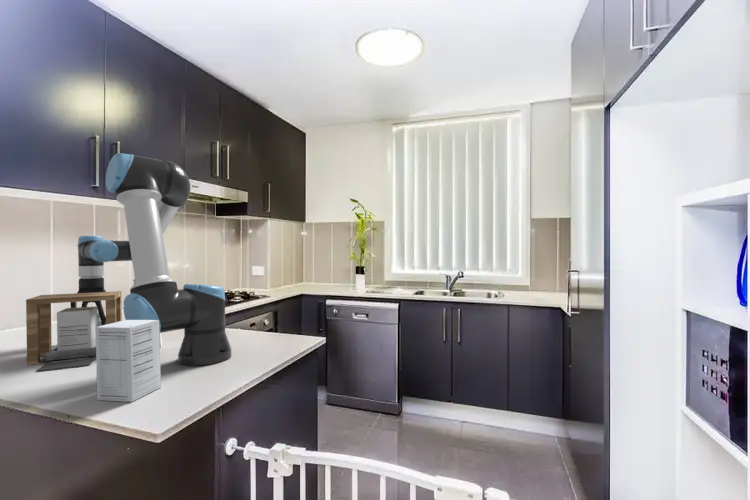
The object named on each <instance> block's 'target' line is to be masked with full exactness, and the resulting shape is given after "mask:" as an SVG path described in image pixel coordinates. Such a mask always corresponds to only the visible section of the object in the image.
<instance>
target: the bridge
mask: <svg viewBox="0 0 750 500" xmlns="http://www.w3.org/2000/svg"><path fill="white" fill-rule="evenodd" d="M100 300H101V301H105V317H106V325H107V324H111V323H115V322H119V321H123V319H122V318H123V317H122V314H123V313H122V310H123V309H122V291H121V290H118V291H117V290H115V291H106V292H94V293H77V292H75V293H74V292H73V293H59V294H58V293H56V294H41V295H37V296H33V297H30V298H28V299H27V298H26V300H25V309H26V310H25V313H26V314H25V316H26V317H25V318H26V319H25V323H26V324H25V326H26V365H27V366H29V365H31V366H32V365H39V364H38V362H40V361H41V360H42V359H41V358H42V357H46V352H47V351H49V350H50V349H52V348H53V346H52V304H60V303H61V304H62V303H71V302H76V303H82V302H83V301H100Z"/></svg>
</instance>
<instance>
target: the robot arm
mask: <svg viewBox="0 0 750 500" xmlns="http://www.w3.org/2000/svg"><path fill="white" fill-rule="evenodd" d="M105 188H106V190H107V191H108V192H110V193H111V194H114V193H115V196H116V197H115V198H116V201H117V202H118V203H119V204H121V205H123V209H124V216H125V222H126V230H127V234H128V235H127V236H128V240H107V239H104V237H103V236H101V235H80V236H79V237H78V241H77V255H78V256H77V257H78V261H77V262H78V276H77V277H79V279H78V291H77V292H76V293H94V292H107V291H106V289H105V278H104V277H103V276H105V272H104V271H105V270H104V269H105V265H104V263H108V262H109V263H110V262H132V268H133V275H134V279H135V284H134V283H133V285H132V286H131V287H130V288H129V291H130V292H129V294H128V295H126V296H125V297H124V299H123V309H122V310H123V315H124V319H125V320H159V333H161V334H162V333H166V332H167V333H168V332H172V331H179V330H184V332H183V333H184V335H183V339H182V341H181V345H180V349H179V351H178V354H177V362H178V364H180V365H183V366H205V365H206V366H207V365H212V364H213V365H214V364H217V363H221V362H223V361H226V360H228V359H230V358H231V357H232V347H231V343H230V341H229V338H228V336H227V333H226V299H227V298H226V293H225V288H224V287H222V286H220V285H214V284H213V285H212V284H199V283H198V284H197V283H194V284H193V283H185V284H184V285H183V287H182V289H178V283H177V281H176V280H174V279H173V278H171V277H170V272H169V266H168V265H169V264H168V259H167V254H166V247H165V241H164V235H163V234H164V233H165V231H166V229H167V228H168V226H169V225H170V223H171V222H172V220H173V218H174V216H175V215H176V214H177V212H178V210H179V209H180V208H182V207H184V206H185V204H186V203H187V201H188V199H189V198H190V194H191V181H190V179H189V176H188V174H187V173H186V171H185V170H184V169H183V168H182V167H181V166H180V165H179V164H177V163H175V162H173V161H170V160H163V159H157V158H151V157H147V156H139V155H134V153H133V154H132V153H130V154H128V153H121V152H120V153H119V152H118V153H116V154H114V155H113V156H112V157H111V159H110V160H109V163H108V165H107V170H106V173H105ZM77 303H78V302H70V308H78V306H77V305H78V304H77ZM89 303H95V306H97V313H99V316H100V319H101V322H99V326H103V325H106V312H105V310H104V308H103V304H102V300H100V301H82V302H81V307H88V305H89Z"/></svg>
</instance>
